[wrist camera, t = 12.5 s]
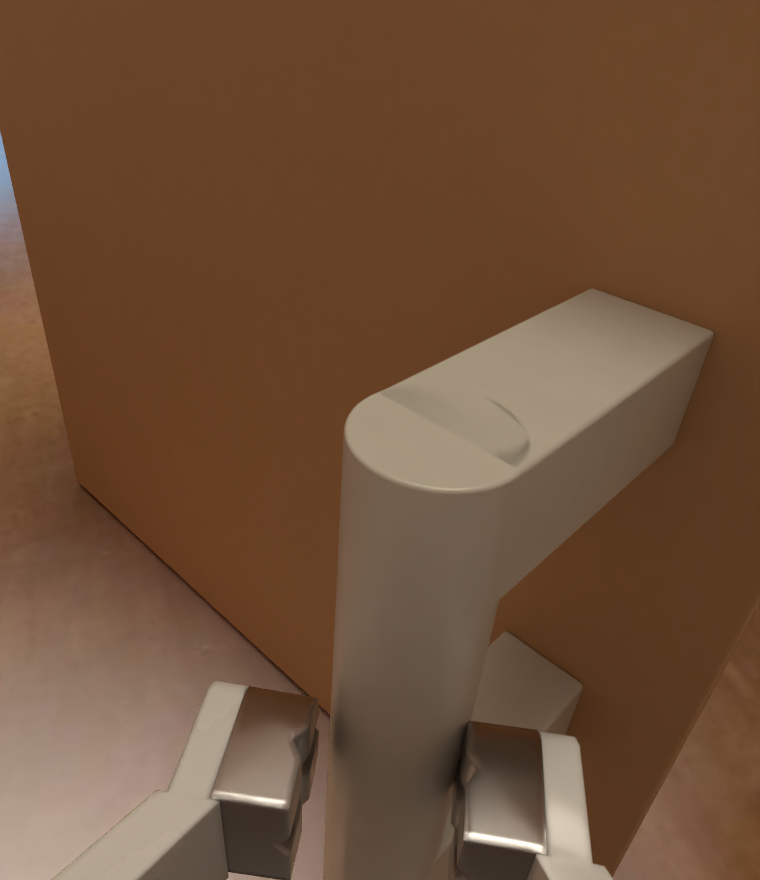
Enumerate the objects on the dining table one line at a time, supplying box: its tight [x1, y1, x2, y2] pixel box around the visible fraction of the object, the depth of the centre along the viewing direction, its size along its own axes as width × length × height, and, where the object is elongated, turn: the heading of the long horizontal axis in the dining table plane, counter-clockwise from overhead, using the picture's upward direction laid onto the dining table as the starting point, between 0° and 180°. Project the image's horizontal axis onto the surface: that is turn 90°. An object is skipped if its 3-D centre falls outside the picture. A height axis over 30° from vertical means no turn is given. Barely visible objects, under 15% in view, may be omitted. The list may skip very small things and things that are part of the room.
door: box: [0, 0, 760, 880], centre depth 17 cm, size 7×26×24 cm, turn 47°
